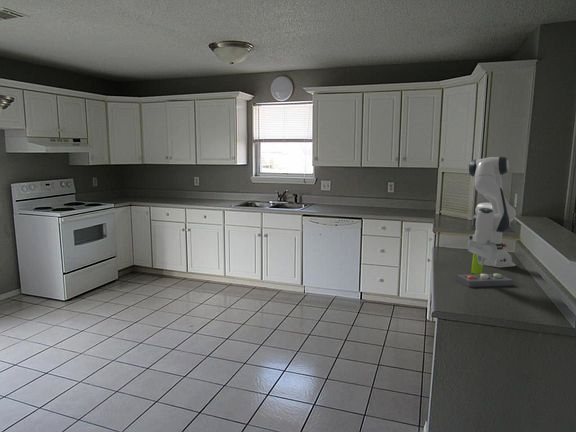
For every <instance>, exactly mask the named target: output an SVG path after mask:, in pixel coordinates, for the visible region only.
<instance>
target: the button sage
mask: <svg viewBox="0 0 576 432" xmlns="http://www.w3.org/2000/svg"><path fill="white" fill-rule="evenodd" d="M492 274H493V277H494V278H496V279H497V278H501V277H502V276H503V275H502V274H501V273H497V272H496V273H492Z"/></svg>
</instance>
